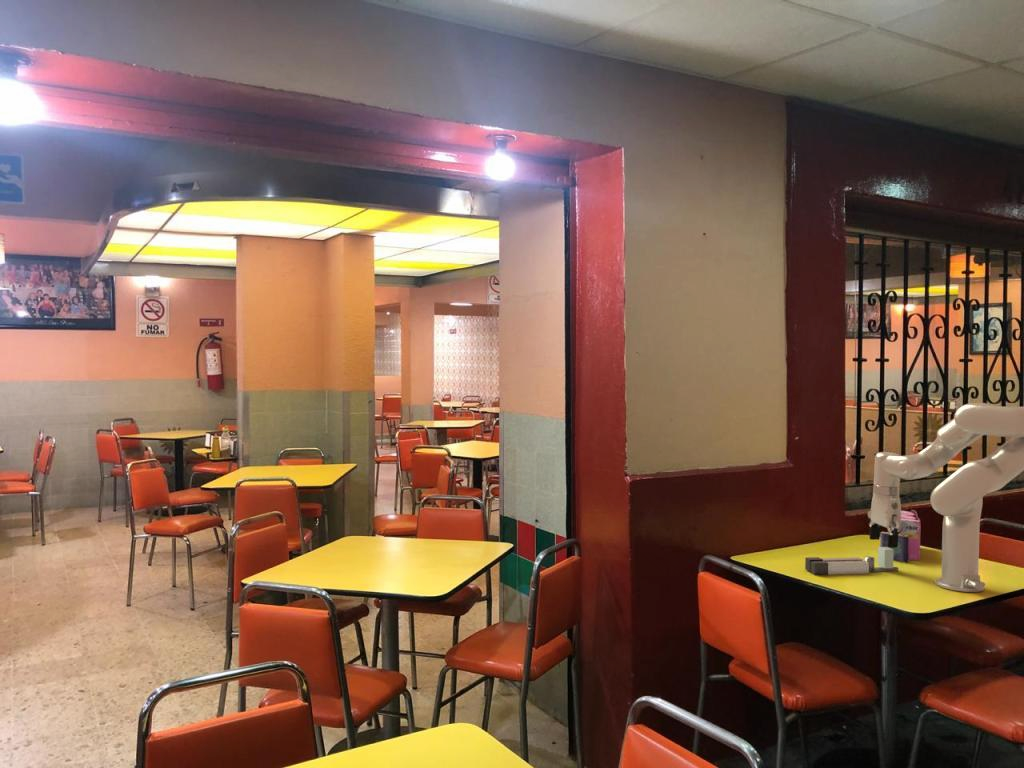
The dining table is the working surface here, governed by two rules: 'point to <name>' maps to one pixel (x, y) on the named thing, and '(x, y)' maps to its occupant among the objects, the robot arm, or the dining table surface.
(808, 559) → the tong leg
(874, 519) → the robot arm
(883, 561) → the white upright block
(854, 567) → the base
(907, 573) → the dining table surface
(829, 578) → the dining table surface
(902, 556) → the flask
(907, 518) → the gum box
